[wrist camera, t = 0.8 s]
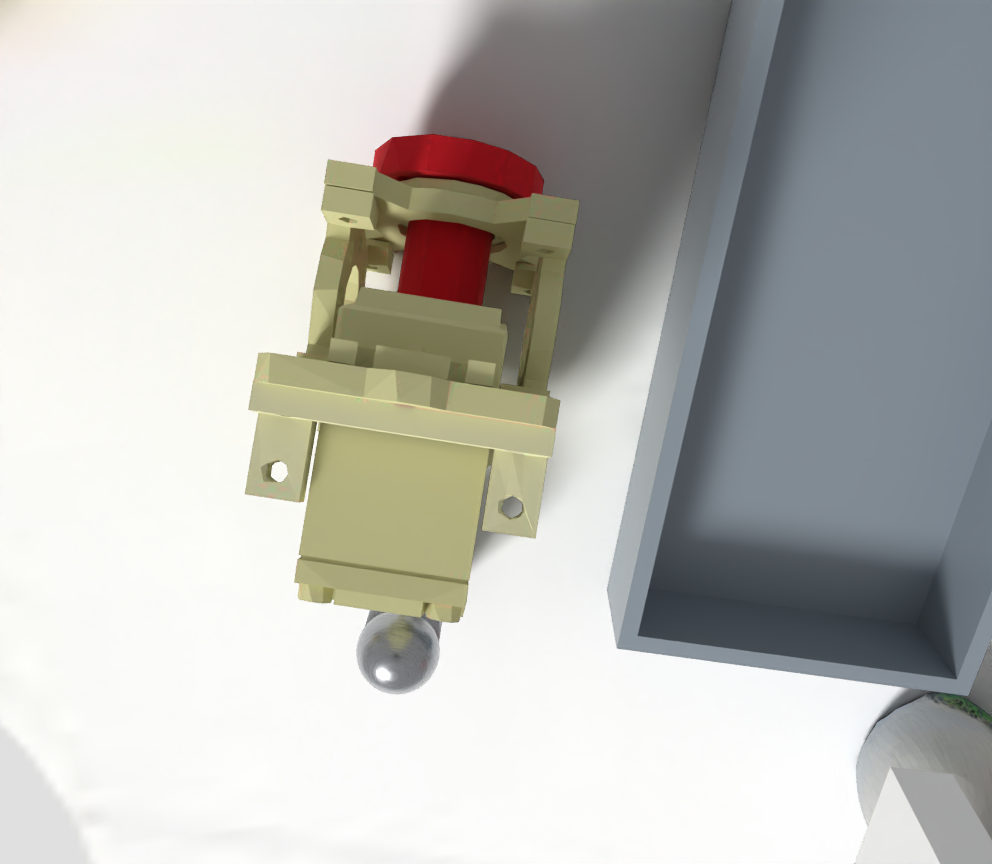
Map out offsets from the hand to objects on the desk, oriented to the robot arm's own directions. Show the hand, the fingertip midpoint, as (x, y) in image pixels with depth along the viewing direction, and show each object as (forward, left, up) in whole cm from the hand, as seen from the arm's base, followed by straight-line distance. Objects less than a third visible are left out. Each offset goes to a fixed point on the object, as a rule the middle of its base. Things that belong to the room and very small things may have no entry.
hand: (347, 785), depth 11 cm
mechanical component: (-1, -1, -26) cm, 26 cm away
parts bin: (-3, +15, -26) cm, 30 cm away
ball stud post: (+12, -1, -26) cm, 29 cm away
